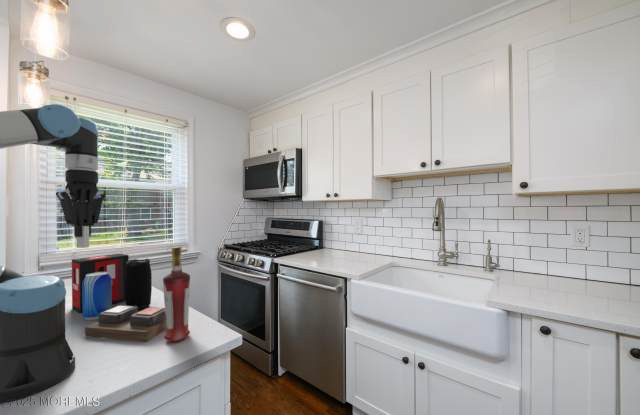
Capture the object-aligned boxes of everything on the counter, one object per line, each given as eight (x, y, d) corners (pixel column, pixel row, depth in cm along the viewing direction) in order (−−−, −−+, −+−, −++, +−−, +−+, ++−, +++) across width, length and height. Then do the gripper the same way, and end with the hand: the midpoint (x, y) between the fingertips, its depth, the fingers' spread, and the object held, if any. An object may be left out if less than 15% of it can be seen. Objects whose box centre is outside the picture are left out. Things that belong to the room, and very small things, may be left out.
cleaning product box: (119, 297, 122) (119, 253, 122) (128, 300, 117) (128, 255, 117) (72, 309, 108) (71, 259, 108) (80, 313, 103) (80, 261, 103)
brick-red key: (150, 320, 85) (150, 314, 85) (135, 319, 86) (135, 313, 86) (163, 314, 90) (163, 308, 90) (149, 313, 91) (149, 307, 91)
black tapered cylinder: (155, 304, 112) (154, 257, 112) (144, 312, 103) (144, 262, 103) (132, 305, 111) (132, 258, 111) (120, 314, 102) (119, 262, 102)
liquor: (162, 337, 83) (161, 247, 83) (188, 331, 87) (187, 245, 87) (165, 347, 77) (164, 250, 77) (192, 339, 81) (191, 247, 81)
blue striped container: (101, 320, 96) (100, 276, 96) (76, 321, 95) (75, 277, 95) (117, 311, 104) (116, 270, 104) (94, 312, 104) (94, 271, 104)
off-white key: (118, 318, 87) (118, 312, 87) (104, 317, 88) (104, 311, 88) (132, 312, 92) (132, 306, 92) (119, 311, 93) (119, 305, 93)
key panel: (145, 342, 80) (145, 321, 80) (85, 336, 84) (85, 317, 84) (178, 322, 94) (178, 305, 94) (125, 318, 98) (124, 302, 98)
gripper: (68, 166, 75) (69, 251, 75) (112, 172, 87) (113, 244, 87) (47, 167, 76) (48, 250, 76) (93, 173, 89) (94, 244, 89)
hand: (82, 247), depth 82 cm, fingers closed
